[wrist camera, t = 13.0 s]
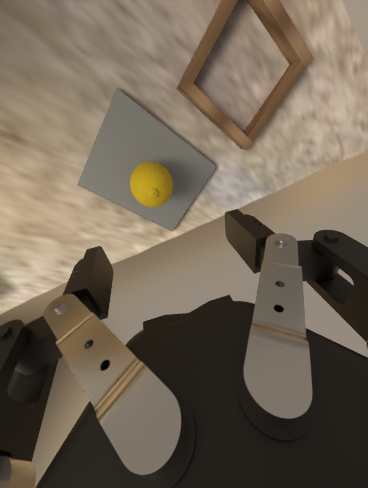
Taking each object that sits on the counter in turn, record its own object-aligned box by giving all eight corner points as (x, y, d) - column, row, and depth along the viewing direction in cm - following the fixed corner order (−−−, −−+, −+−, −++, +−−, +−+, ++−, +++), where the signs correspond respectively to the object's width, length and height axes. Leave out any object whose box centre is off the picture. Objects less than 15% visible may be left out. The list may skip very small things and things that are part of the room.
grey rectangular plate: (79, 183, 27) (77, 184, 26) (117, 89, 23) (117, 88, 22) (171, 229, 34) (172, 231, 33) (214, 165, 30) (216, 166, 29)
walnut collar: (176, 88, 24) (179, 86, 22) (240, -36, 19) (249, -51, 18) (241, 148, 29) (247, 149, 28) (301, 62, 25) (313, 58, 23)
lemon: (161, 199, 30) (169, 221, 23) (126, 189, 28) (124, 209, 21) (173, 165, 28) (185, 178, 21) (135, 150, 26) (135, 160, 19)
